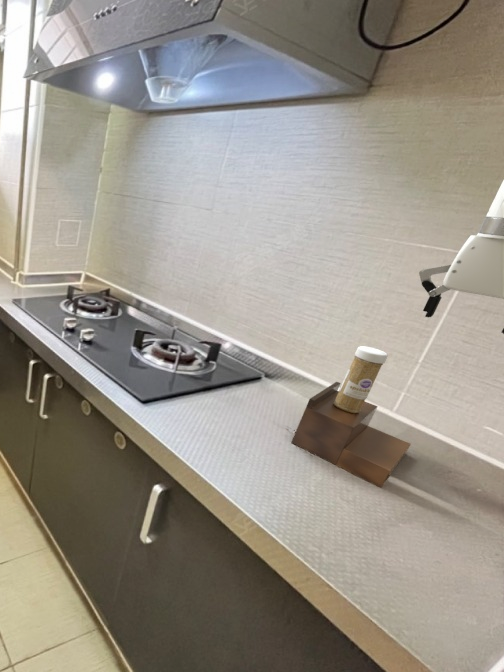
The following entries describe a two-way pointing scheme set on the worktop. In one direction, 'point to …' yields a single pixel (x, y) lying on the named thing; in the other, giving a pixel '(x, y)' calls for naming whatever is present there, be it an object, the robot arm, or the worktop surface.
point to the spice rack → (348, 438)
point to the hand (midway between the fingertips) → (464, 324)
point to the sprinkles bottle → (359, 378)
